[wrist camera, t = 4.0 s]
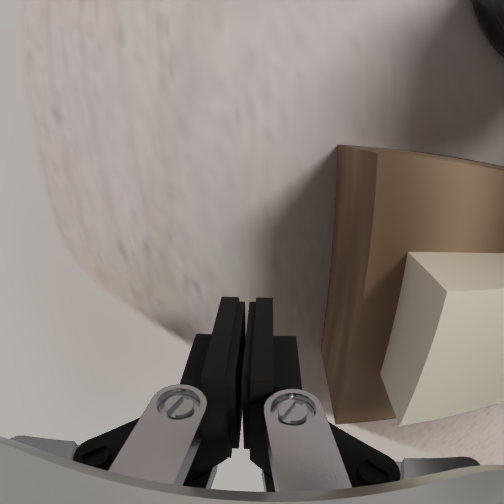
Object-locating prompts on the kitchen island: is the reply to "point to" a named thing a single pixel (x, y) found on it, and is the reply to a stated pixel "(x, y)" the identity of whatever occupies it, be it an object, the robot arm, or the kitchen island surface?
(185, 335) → the kitchen island surface
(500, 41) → the supplement bottle
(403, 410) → the tile
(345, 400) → the brown cardboard box
